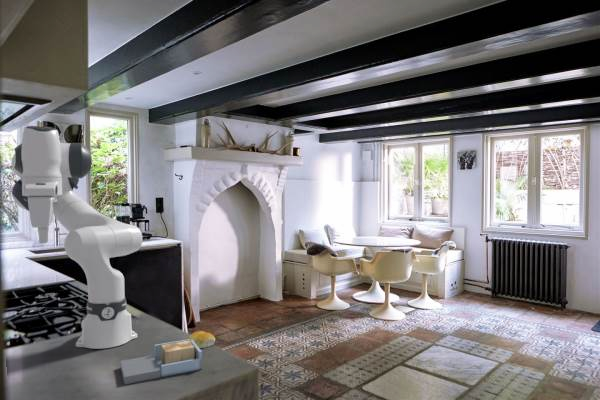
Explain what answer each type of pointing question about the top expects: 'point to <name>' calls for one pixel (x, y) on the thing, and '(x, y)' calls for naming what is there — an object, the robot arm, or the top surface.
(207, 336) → the bread roll
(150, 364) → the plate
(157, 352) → the tray
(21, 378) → the top surface
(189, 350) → the oak block
